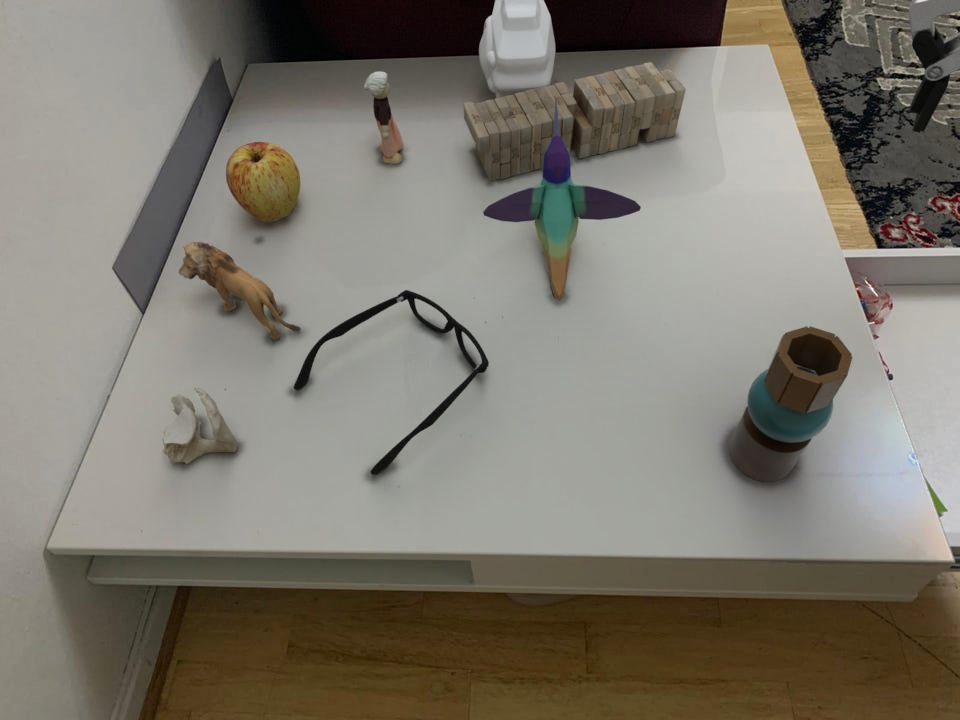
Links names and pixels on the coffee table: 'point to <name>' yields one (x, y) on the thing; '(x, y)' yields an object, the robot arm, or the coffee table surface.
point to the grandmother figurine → (385, 117)
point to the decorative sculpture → (559, 209)
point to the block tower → (575, 118)
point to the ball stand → (773, 434)
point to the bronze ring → (814, 354)
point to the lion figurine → (232, 283)
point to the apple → (263, 180)
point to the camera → (517, 47)
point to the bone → (195, 431)
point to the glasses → (449, 326)
